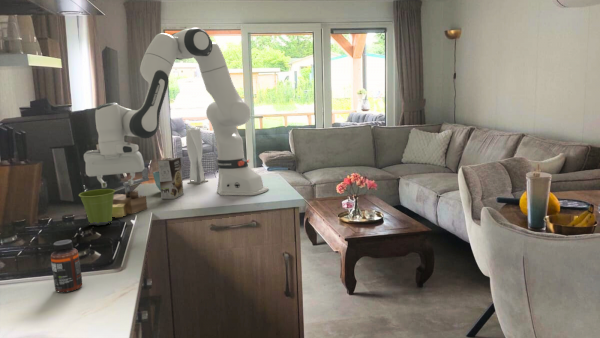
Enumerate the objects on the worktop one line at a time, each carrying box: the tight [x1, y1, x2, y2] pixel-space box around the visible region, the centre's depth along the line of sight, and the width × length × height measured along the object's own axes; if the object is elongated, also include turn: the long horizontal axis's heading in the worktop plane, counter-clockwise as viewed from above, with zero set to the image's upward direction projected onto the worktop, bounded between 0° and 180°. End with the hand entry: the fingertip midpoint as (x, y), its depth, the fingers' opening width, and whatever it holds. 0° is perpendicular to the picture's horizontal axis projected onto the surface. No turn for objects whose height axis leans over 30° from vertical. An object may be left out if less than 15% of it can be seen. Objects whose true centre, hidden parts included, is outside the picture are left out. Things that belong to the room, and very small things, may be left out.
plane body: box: [113, 190, 148, 215], centre depth 202 cm, size 15×8×8 cm, turn 64°
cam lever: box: [122, 167, 150, 198], centre depth 204 cm, size 11×2×10 cm, turn 149°
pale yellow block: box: [112, 203, 128, 218], centre depth 194 cm, size 5×5×4 cm
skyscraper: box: [185, 123, 209, 185], centre depth 252 cm, size 8×8×28 cm
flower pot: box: [152, 170, 161, 192], centre depth 235 cm, size 9×9×9 cm
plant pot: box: [78, 188, 116, 223], centre depth 182 cm, size 12×12×11 cm
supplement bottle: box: [50, 239, 83, 293], centre depth 123 cm, size 6×6×11 cm
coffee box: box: [157, 157, 184, 200], centre depth 222 cm, size 9×6×16 cm
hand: (117, 186), depth 193 cm, fingers open, 8 cm apart
